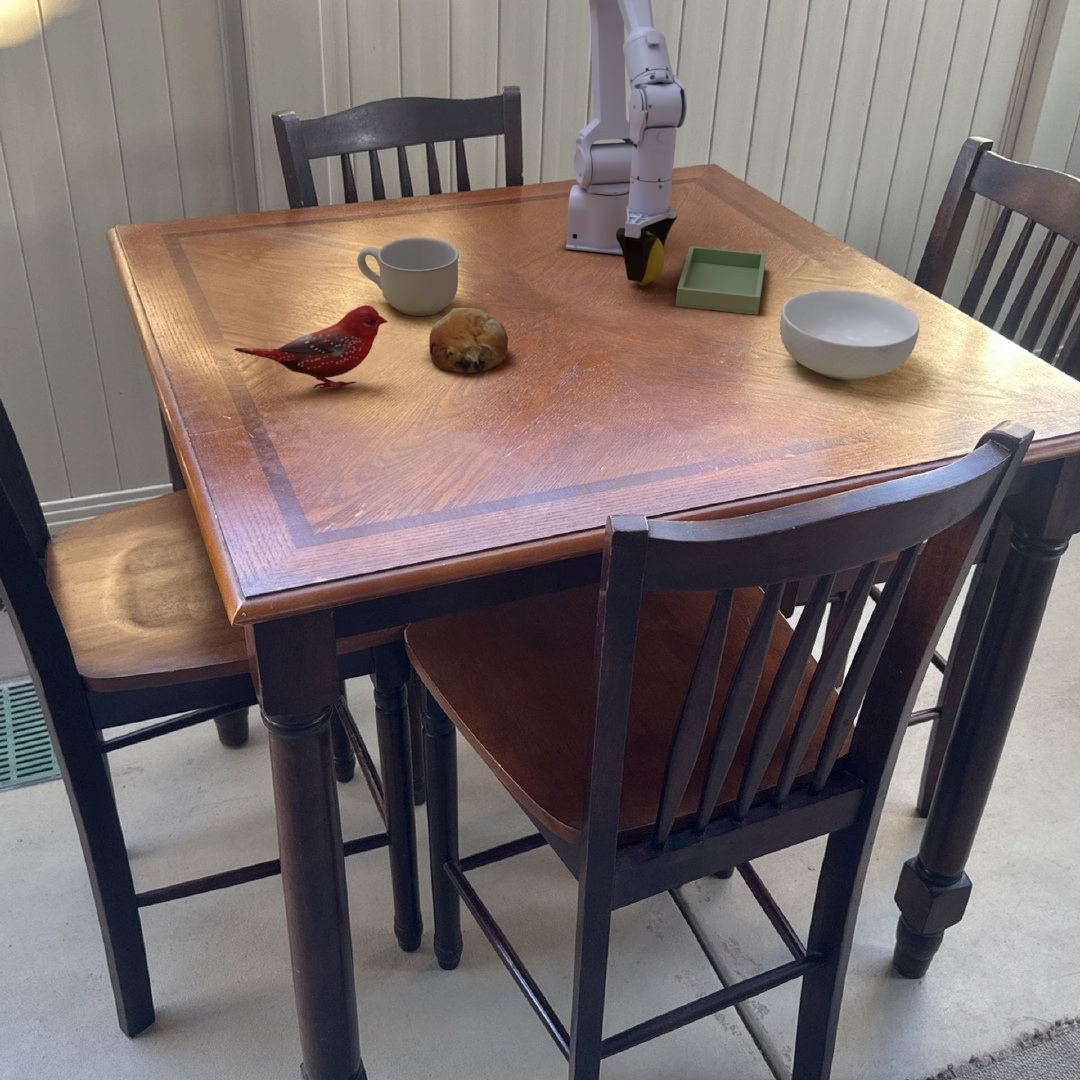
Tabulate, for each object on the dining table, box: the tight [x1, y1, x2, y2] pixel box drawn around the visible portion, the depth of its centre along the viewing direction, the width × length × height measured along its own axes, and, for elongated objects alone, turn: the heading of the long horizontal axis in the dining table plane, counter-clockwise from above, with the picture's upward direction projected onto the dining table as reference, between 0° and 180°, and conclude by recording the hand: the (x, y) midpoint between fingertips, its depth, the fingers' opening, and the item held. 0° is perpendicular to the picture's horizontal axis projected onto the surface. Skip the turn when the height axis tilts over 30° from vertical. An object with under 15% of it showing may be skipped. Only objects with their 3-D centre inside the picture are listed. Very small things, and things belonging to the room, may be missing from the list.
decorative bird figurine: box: [233, 304, 388, 389], centre depth 131 cm, size 3×18×10 cm, turn 107°
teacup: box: [356, 236, 460, 317], centre depth 153 cm, size 14×11×8 cm
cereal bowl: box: [779, 289, 920, 381], centre depth 141 cm, size 17×17×7 cm
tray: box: [675, 245, 767, 316], centre depth 163 cm, size 11×17×3 cm, turn 168°
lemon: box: [637, 231, 665, 287], centre depth 161 cm, size 6×6×8 cm
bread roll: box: [428, 307, 509, 374], centre depth 141 cm, size 10×10×8 cm
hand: (643, 271), depth 162 cm, fingers open, 7 cm apart
